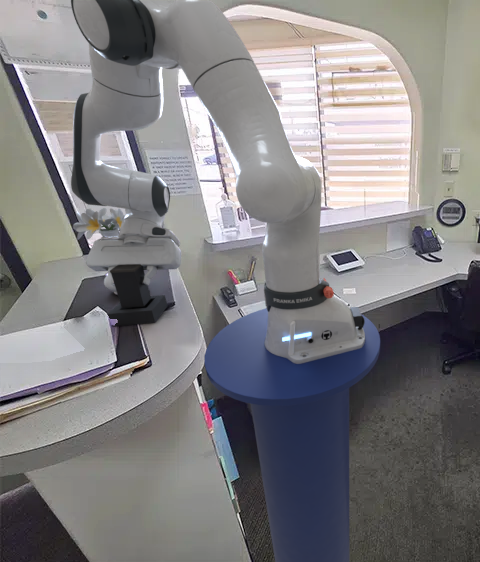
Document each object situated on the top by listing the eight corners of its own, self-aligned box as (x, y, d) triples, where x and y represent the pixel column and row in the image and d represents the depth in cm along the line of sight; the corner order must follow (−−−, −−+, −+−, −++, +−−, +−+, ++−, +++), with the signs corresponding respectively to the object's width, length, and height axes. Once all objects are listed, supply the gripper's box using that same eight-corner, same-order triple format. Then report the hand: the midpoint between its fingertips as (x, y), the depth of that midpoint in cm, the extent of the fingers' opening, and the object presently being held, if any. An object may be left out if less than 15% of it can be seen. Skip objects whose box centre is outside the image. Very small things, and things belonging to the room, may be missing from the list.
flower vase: (150, 277, 105) (131, 202, 96) (151, 296, 91) (129, 211, 82) (101, 284, 98) (74, 204, 89) (94, 307, 84) (61, 215, 75)
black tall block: (151, 298, 82) (142, 262, 78) (144, 306, 78) (134, 269, 74) (129, 299, 81) (119, 263, 77) (121, 308, 76) (109, 270, 73)
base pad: (167, 306, 86) (164, 294, 85) (155, 322, 78) (151, 310, 76) (128, 309, 84) (124, 297, 82) (111, 326, 75) (106, 314, 74)
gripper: (87, 230, 77) (72, 281, 72) (176, 230, 81) (169, 278, 76) (103, 243, 83) (91, 291, 78) (186, 242, 86) (180, 287, 81)
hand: (130, 284), depth 77 cm, fingers closed on black tall block, 5 cm apart
